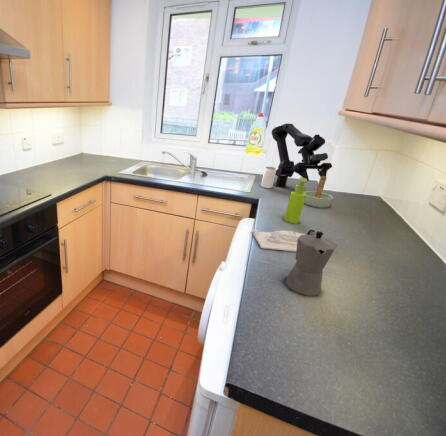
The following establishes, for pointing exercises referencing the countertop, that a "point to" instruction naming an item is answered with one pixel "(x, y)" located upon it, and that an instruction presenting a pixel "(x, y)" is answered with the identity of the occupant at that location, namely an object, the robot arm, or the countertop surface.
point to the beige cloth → (277, 240)
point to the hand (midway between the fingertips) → (316, 181)
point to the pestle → (320, 187)
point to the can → (268, 177)
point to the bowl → (318, 200)
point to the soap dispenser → (296, 203)
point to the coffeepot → (310, 263)
